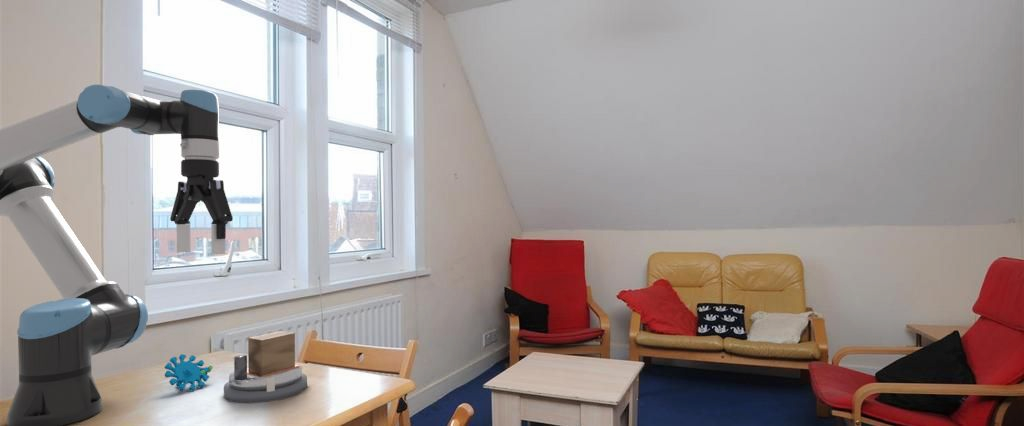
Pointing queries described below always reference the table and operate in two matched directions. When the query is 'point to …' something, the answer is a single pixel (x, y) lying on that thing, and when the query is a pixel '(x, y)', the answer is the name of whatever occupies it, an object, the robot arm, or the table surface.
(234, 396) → the wheel base
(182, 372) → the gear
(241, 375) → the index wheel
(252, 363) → the link block
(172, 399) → the table surface
